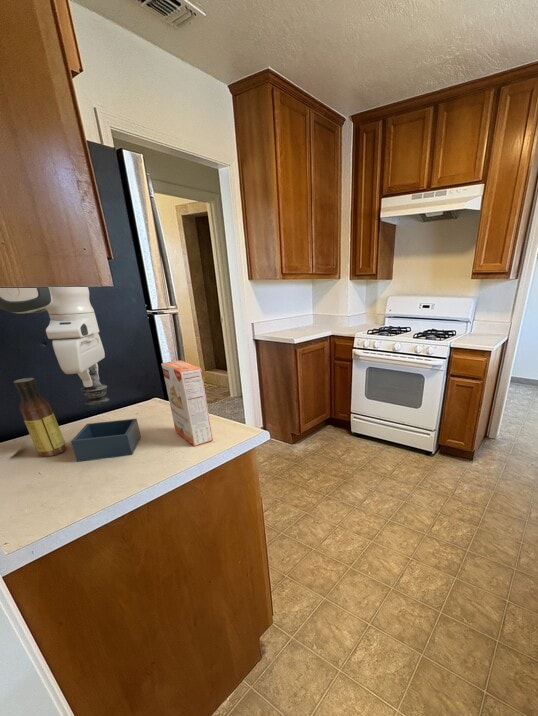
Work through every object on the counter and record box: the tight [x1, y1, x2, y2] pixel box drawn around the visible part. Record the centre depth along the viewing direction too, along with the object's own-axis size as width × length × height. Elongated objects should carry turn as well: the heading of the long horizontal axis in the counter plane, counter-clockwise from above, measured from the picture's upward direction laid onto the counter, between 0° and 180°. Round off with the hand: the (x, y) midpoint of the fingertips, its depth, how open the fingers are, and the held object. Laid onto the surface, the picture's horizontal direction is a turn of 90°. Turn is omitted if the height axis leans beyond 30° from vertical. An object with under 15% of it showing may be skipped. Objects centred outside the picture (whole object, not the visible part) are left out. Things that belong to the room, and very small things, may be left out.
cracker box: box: [161, 359, 214, 447], centre depth 97 cm, size 14×6×21 cm, turn 41°
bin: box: [70, 418, 142, 463], centre depth 94 cm, size 13×13×6 cm
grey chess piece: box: [79, 365, 110, 406], centre depth 87 cm, size 6×6×12 cm
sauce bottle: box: [13, 377, 67, 457], centre depth 89 cm, size 6×6×20 cm
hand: (92, 383), depth 88 cm, fingers closed on grey chess piece, 3 cm apart
